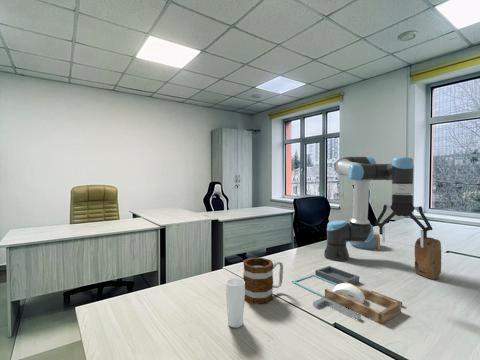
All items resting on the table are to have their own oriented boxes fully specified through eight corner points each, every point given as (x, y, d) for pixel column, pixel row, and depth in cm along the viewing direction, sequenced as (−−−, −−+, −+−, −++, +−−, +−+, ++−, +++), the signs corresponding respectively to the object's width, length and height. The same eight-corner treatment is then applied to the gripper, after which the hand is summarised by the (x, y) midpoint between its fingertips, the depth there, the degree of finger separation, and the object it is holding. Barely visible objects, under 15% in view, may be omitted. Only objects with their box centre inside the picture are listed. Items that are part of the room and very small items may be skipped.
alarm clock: (385, 250, 178) (385, 233, 178) (356, 250, 178) (357, 233, 178) (371, 243, 197) (371, 227, 197) (345, 243, 197) (345, 227, 197)
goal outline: (291, 282, 124) (291, 281, 124) (313, 275, 133) (313, 274, 133) (323, 297, 108) (323, 296, 108) (345, 288, 117) (345, 287, 117)
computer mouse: (363, 306, 101) (363, 291, 101) (330, 298, 108) (330, 283, 108) (365, 299, 107) (365, 285, 106) (333, 292, 113) (333, 278, 113)
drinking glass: (225, 319, 92) (225, 278, 91) (244, 318, 92) (244, 277, 92) (226, 330, 85) (226, 286, 85) (246, 329, 85) (246, 285, 85)
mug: (251, 307, 100) (251, 270, 99) (237, 293, 112) (237, 259, 112) (291, 297, 108) (291, 262, 108) (274, 285, 120) (274, 254, 120)
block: (442, 279, 128) (443, 240, 128) (432, 281, 125) (433, 241, 125) (421, 271, 138) (421, 235, 138) (411, 273, 136) (412, 236, 135)
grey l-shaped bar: (313, 306, 101) (313, 301, 101) (323, 301, 105) (323, 297, 105) (350, 325, 88) (350, 320, 88) (360, 319, 92) (360, 314, 92)
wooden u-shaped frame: (324, 297, 108) (324, 289, 108) (344, 288, 116) (344, 281, 116) (381, 324, 88) (382, 314, 88) (401, 312, 96) (401, 303, 96)
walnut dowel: (372, 295, 111) (369, 295, 110) (373, 291, 111) (370, 290, 110) (401, 307, 101) (399, 306, 100) (402, 302, 102) (400, 301, 100)
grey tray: (315, 275, 132) (315, 270, 132) (329, 271, 138) (329, 265, 138) (345, 288, 117) (345, 281, 117) (359, 282, 124) (359, 276, 124)
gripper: (368, 193, 109) (368, 242, 109) (441, 195, 96) (440, 251, 96) (370, 192, 116) (369, 238, 116) (438, 194, 102) (438, 246, 102)
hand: (402, 244), depth 106 cm, fingers open, 13 cm apart
